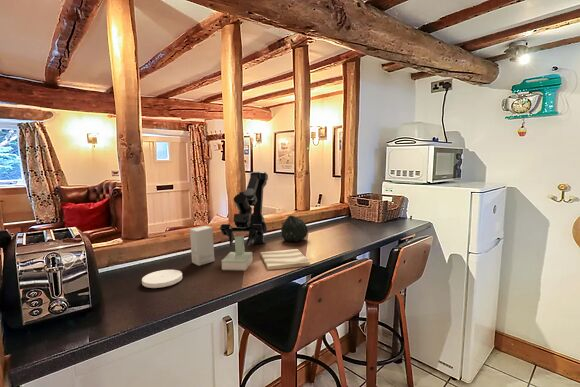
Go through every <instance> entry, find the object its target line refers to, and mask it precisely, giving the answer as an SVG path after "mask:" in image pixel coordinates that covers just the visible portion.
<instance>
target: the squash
mask: <svg viewBox="0 0 580 387" xmlns="http://www.w3.org/2000/svg"><path fill="white" fill-rule="evenodd" d="M280 230H281V232H280V233H281V237H282V239H283V240H285V242H286V241H287V242H290V243H291V242H295V243H297V242H301V241H303V240H304V239H306V236H308V232H309V231H308V230H309V229H308V226H307V224H306V223H305V221H304V220H302V219H301V218H299V217H297V216H295V215H291V214H290V215H288V217H287V218H286V219H285V220H284V221H283V223H282V225H281V229H280Z"/></svg>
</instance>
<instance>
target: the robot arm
mask: <svg viewBox="0 0 580 387" xmlns="http://www.w3.org/2000/svg"><path fill="white" fill-rule="evenodd" d="M249 175H250V177H249V180H248V183H247V186H246V189H245V190H244V191H240V192H239V193H238V194H236V195H235V196H234V197H233V201H234V204H235V206H236V209H237V210H238V213H234V214H233V222H234V225H235V226H231V224H230V223H222V224H221V225H220V227H219V230H220V231H221V233H222V236H227V237H228V239H229V246H230V247H233V244H234V240H235V235H234V232H239V233H241V232H242V233H245V232H248V235H247V241H246V246H245V247H246V248H248V247H249V246H250V245H251V243H252V245H261V244H266V241H265V240H264V236H265V235H264V233H267V232H268V230H267V229H268V227H267V224H266V221H265V217H264V216H263V199H264V198H263V197H264V188H265V186H266V185H267V181H268V180H269V175H268V173H267V172H266V171H251V172H250V174H249ZM252 207H253V209H252Z"/></svg>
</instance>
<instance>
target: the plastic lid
mask: <svg viewBox="0 0 580 387" xmlns="http://www.w3.org/2000/svg"><path fill="white" fill-rule="evenodd" d="M182 280H183V272H182V271H181V270H177V269H163V270H162V269H161V270H157V271H153V272H150V273H147V274H146V275H144V276H143V277H142V278H141V284H142V286H144V287H145V288H149V289H150V288H151V289H157V288H165V287H171V286H173V285H175V284H178V283H179V282H180V281H182Z"/></svg>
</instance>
